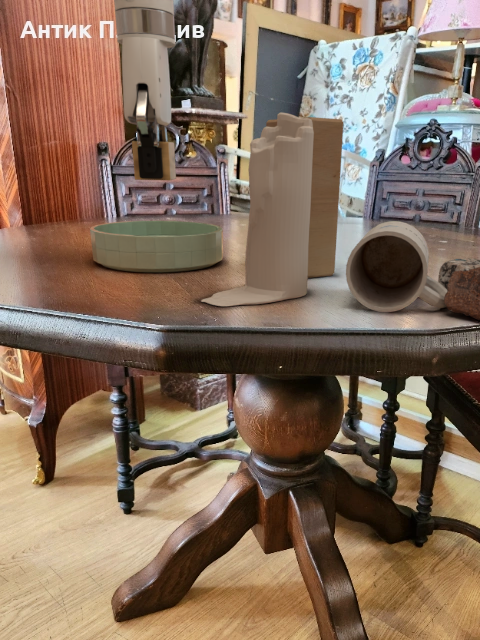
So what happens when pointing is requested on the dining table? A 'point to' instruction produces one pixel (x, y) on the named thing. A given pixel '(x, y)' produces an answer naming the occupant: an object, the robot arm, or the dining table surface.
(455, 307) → the stone
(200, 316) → the dining table surface
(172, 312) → the dining table surface
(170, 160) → the block
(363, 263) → the mug
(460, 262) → the rock
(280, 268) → the candle
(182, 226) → the bowl
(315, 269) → the decorative block
